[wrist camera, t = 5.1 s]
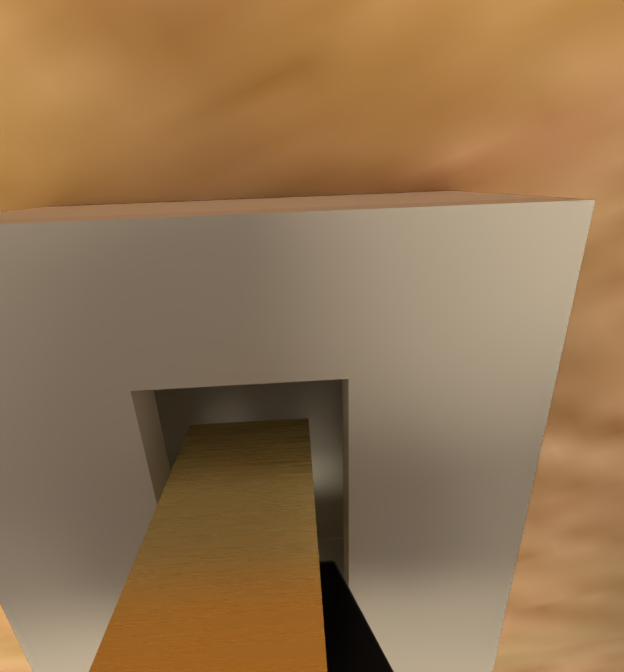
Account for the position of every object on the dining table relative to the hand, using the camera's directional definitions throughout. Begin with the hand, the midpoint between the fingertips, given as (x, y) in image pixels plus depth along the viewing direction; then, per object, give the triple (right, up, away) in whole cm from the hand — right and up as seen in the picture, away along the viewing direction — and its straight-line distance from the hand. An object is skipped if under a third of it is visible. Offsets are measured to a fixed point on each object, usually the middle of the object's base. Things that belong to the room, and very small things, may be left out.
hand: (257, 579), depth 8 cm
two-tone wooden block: (0, 0, +1) cm, 1 cm away
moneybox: (0, +3, +6) cm, 7 cm away
